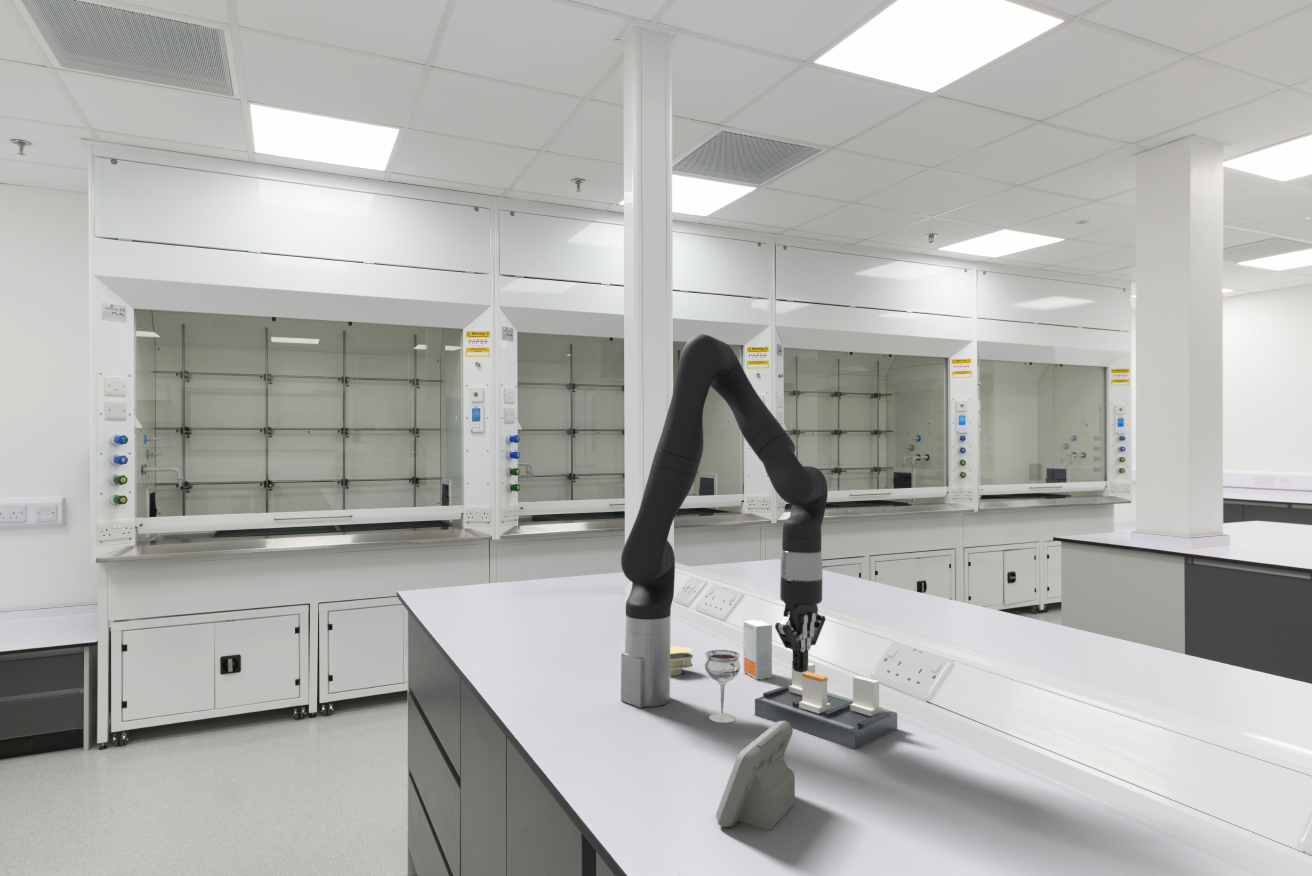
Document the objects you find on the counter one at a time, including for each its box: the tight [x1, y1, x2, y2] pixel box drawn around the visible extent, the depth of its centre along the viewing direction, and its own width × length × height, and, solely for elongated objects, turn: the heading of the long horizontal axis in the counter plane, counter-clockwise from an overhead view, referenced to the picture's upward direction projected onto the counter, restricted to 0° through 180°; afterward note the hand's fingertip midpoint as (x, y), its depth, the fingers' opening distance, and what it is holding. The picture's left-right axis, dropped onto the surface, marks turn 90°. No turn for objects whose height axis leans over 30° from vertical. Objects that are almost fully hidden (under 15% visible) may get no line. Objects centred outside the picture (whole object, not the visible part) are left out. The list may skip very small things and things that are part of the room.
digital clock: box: [715, 721, 796, 831], centre depth 102 cm, size 16×9×11 cm, turn 137°
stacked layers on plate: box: [670, 645, 694, 677], centre depth 167 cm, size 10×9×6 cm
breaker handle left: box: [789, 660, 816, 695], centre depth 143 cm, size 4×4×6 cm
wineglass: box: [704, 649, 741, 724], centre depth 138 cm, size 7×7×12 cm
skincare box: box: [742, 619, 773, 680], centre depth 165 cm, size 6×4×12 cm
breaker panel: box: [754, 683, 898, 750], centre depth 136 cm, size 14×22×4 cm, turn 42°
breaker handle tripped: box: [799, 672, 830, 714], centre depth 134 cm, size 4×4×6 cm
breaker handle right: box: [850, 675, 883, 716], centre depth 133 cm, size 4×4×6 cm
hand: (800, 670), depth 132 cm, fingers closed
